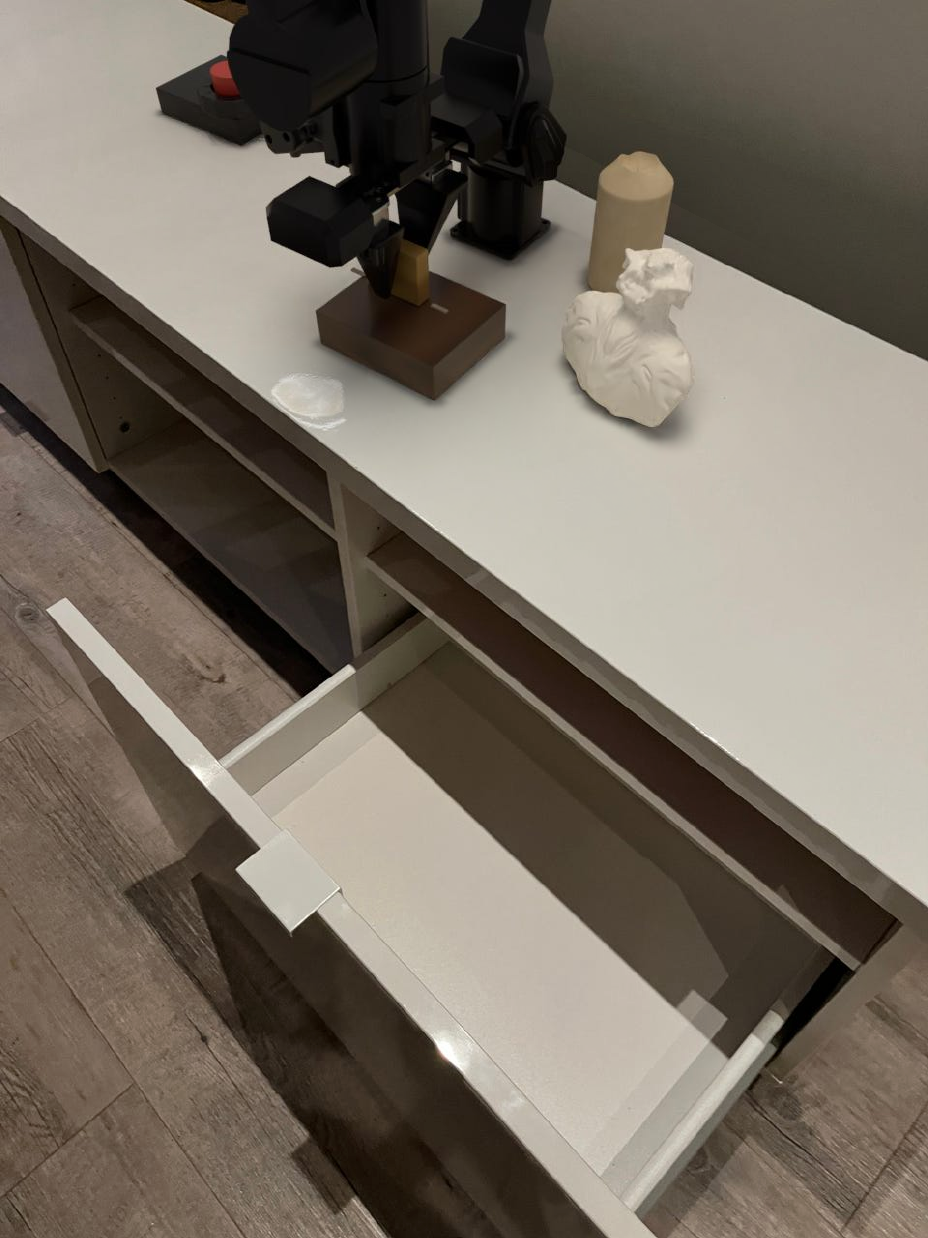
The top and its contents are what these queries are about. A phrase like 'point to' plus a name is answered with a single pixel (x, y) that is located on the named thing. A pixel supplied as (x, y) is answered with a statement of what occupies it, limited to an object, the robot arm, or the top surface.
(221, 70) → the button
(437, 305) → the plate
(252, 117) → the push button box
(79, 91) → the top surface
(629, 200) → the candle
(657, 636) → the top surface
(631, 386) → the bust
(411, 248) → the thumbturn
